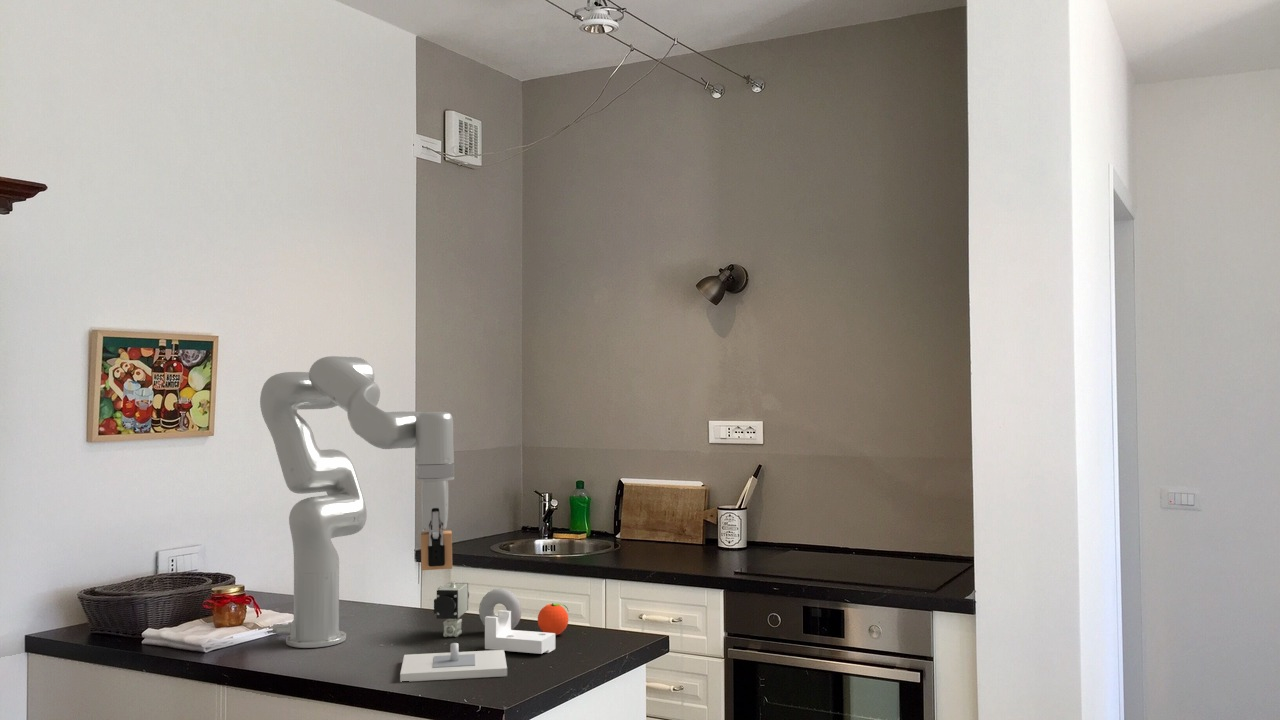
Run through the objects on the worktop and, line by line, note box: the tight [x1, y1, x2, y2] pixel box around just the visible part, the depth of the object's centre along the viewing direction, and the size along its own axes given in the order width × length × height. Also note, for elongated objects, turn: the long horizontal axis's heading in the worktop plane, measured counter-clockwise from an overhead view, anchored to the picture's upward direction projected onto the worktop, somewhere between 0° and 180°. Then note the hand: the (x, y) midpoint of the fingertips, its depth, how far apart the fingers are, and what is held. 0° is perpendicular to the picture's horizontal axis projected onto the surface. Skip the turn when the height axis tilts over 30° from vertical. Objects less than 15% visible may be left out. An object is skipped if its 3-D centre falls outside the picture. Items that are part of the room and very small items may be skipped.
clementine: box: [537, 603, 570, 636], centre depth 224 cm, size 8×7×7 cm
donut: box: [478, 588, 522, 630], centre depth 226 cm, size 10×4×10 cm, turn 78°
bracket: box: [484, 609, 556, 655], centre depth 211 cm, size 13×7×8 cm, turn 71°
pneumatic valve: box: [433, 580, 470, 638], centre depth 224 cm, size 6×12×12 cm, turn 174°
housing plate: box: [399, 642, 508, 683], centre depth 197 cm, size 20×14×5 cm
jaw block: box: [420, 530, 453, 571], centre depth 201 cm, size 6×5×7 cm
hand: (436, 562), depth 201 cm, fingers closed on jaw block, 4 cm apart
